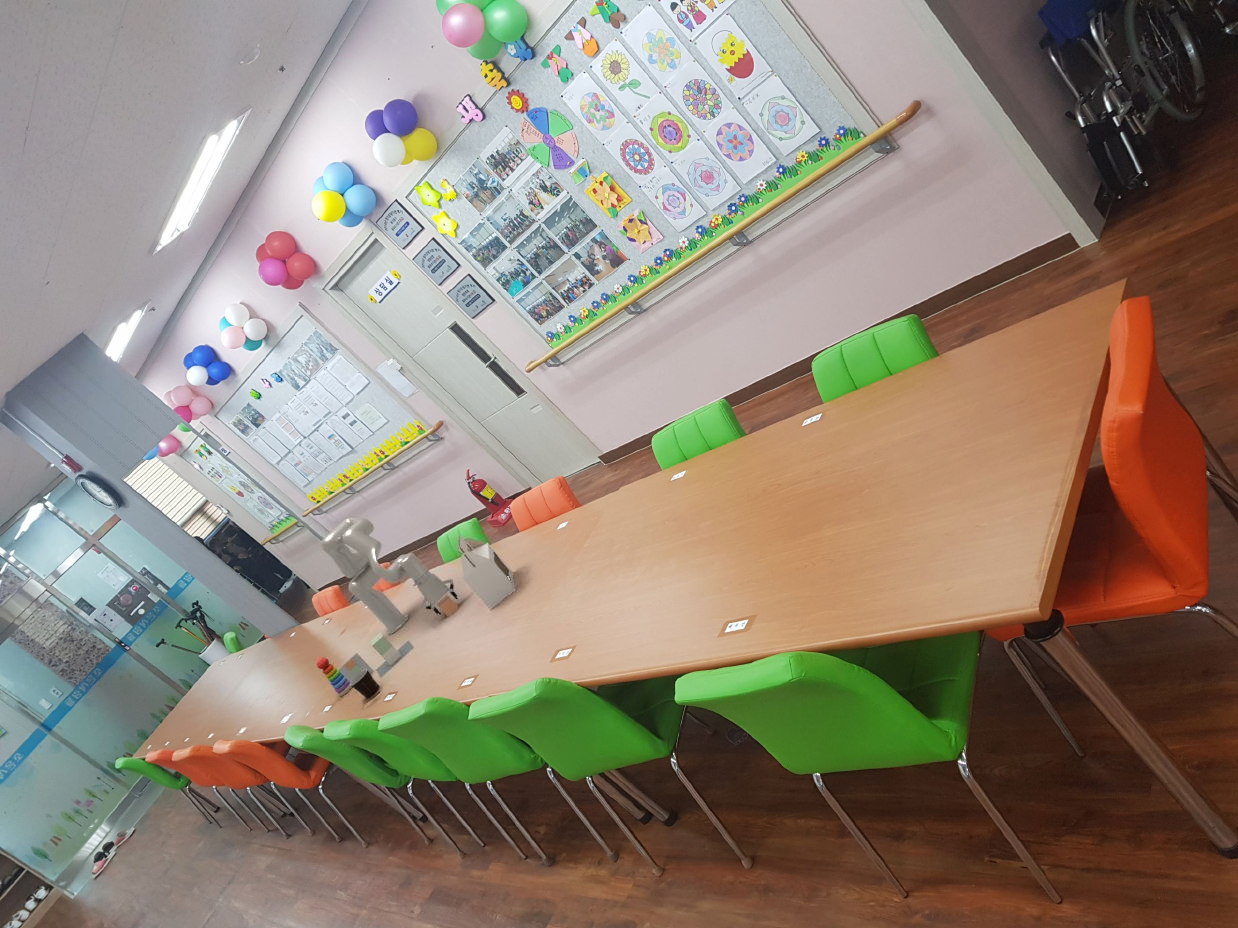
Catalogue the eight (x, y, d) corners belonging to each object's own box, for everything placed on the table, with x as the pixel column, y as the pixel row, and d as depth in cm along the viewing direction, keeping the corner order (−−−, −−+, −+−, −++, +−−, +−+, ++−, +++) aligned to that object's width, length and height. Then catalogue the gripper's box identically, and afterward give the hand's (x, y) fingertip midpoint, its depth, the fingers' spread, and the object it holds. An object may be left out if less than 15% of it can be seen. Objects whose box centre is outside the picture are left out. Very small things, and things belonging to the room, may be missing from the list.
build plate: (377, 671, 356) (375, 669, 355) (410, 642, 361) (408, 640, 361) (382, 679, 343) (380, 677, 343) (416, 649, 349) (414, 647, 348)
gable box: (488, 591, 353) (447, 542, 345) (513, 572, 353) (472, 523, 345) (490, 610, 331) (446, 559, 324) (516, 590, 332) (472, 539, 324)
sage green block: (378, 651, 353) (369, 641, 351) (389, 641, 355) (380, 631, 353) (381, 655, 346) (372, 645, 344) (392, 645, 347) (383, 635, 346)
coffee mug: (368, 693, 339) (352, 677, 336) (385, 682, 338) (369, 665, 335) (362, 710, 328) (345, 692, 325) (379, 698, 327) (362, 680, 324)
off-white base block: (387, 661, 355) (378, 651, 353) (398, 651, 356) (389, 641, 355) (390, 665, 347) (381, 655, 346) (401, 655, 349) (392, 645, 347)
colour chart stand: (356, 688, 355) (337, 668, 352) (374, 671, 358) (355, 651, 355) (357, 690, 351) (338, 670, 348) (376, 673, 355) (357, 653, 351)
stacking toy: (349, 692, 356) (319, 662, 351) (336, 699, 359) (307, 669, 354) (357, 680, 363) (328, 650, 358) (345, 687, 366) (316, 657, 361)
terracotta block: (445, 613, 365) (436, 603, 363) (455, 604, 366) (447, 594, 365) (448, 617, 357) (439, 607, 356) (459, 607, 359) (450, 597, 357)
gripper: (409, 593, 350) (435, 621, 355) (440, 565, 355) (465, 593, 360) (406, 590, 357) (431, 618, 362) (436, 563, 362) (461, 591, 367)
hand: (448, 606), depth 361 cm, fingers open, 9 cm apart
